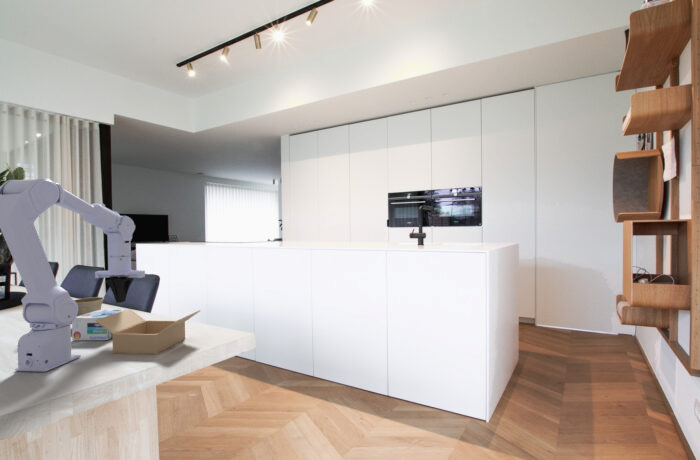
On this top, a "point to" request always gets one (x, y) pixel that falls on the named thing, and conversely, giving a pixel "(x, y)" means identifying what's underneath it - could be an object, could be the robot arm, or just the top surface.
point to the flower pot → (89, 305)
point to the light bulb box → (91, 326)
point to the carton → (147, 337)
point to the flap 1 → (120, 321)
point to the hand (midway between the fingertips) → (120, 302)
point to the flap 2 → (178, 322)
